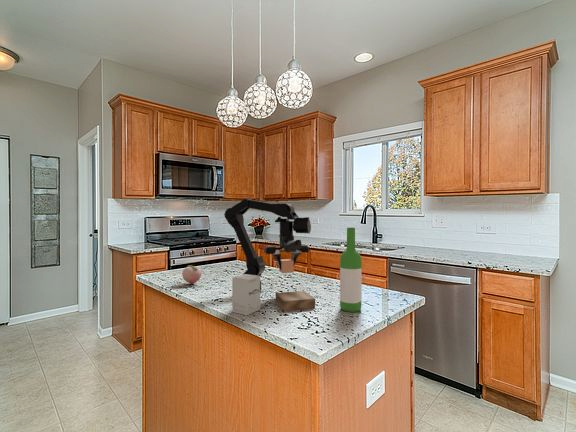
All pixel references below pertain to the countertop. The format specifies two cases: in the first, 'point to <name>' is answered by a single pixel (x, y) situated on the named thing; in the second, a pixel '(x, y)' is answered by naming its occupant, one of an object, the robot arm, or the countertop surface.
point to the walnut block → (295, 300)
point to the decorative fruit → (191, 274)
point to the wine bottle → (350, 276)
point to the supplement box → (245, 294)
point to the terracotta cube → (287, 266)
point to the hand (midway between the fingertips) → (286, 269)
